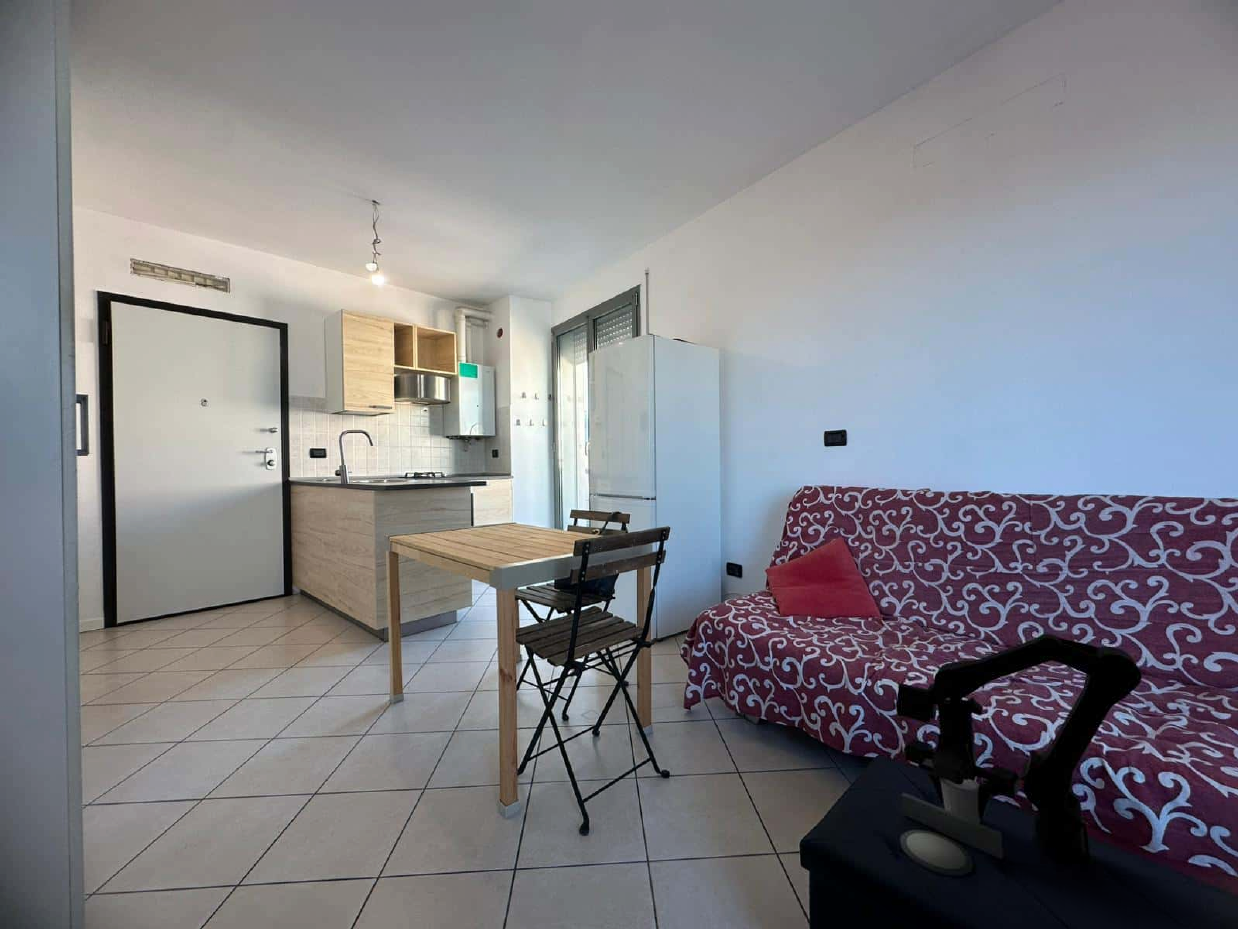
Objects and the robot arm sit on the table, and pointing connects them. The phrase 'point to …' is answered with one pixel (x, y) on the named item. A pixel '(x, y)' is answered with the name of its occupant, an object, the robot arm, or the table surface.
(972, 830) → the low wall
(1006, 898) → the table surface
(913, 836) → the grey round disc
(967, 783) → the shot glass
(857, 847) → the table surface
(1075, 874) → the table surface
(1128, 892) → the table surface
